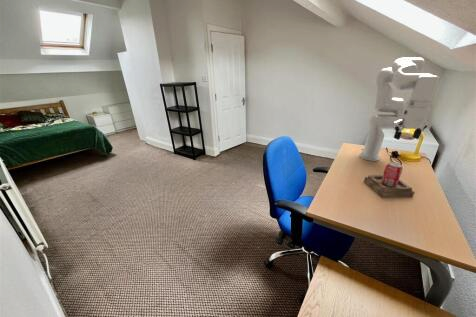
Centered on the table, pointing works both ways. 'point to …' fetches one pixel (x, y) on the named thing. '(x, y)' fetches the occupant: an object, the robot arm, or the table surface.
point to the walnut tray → (388, 187)
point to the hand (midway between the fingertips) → (405, 138)
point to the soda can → (392, 174)
